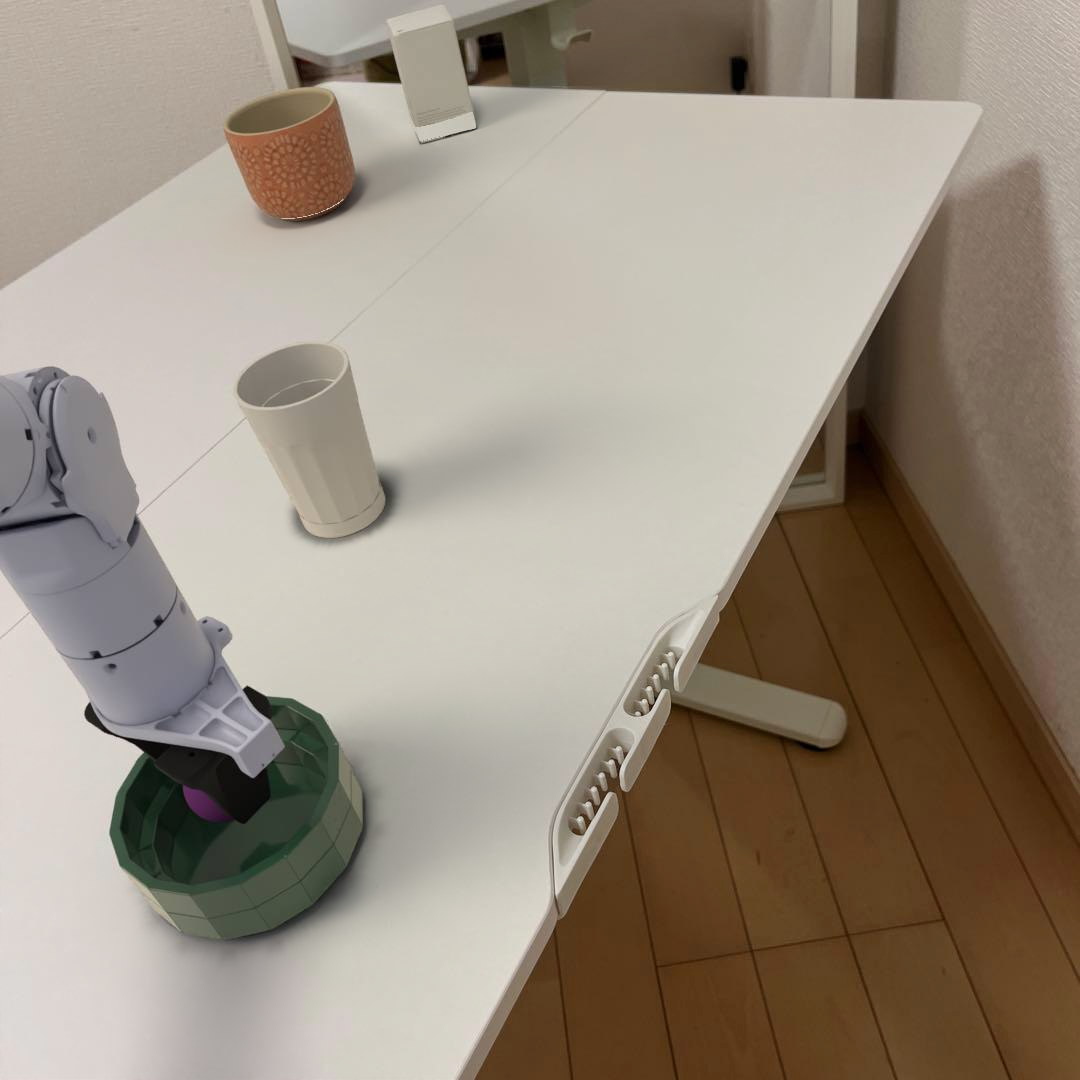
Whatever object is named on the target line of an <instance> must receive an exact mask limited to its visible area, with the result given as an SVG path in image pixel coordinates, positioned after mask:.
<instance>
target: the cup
mask: <svg viewBox="0 0 1080 1080" xmlns="http://www.w3.org/2000/svg"><path fill="white" fill-rule="evenodd" d="M356 387H357V386H356V382H355V378H354V375H353V371H352V366H351V363H350V359H349V355H348V353H347V352H346V350H345V349H344V348H342V347H341V346H339V345H338V344H335V343H332V342H329V341H322V340H309V341H300V342H295V343H290V344H286V345H283V346H280V347H278V348H275V349H272V350H270V351H268V352H266V353H264V354H262V355H261V356H259V357H256V359H254V360H252V361H251V362H250V363H248V364H247V365H246V366H245V367H244V368H243V369H242V371H240V372H239V374H238V375H237V376H236V378H235V380H234V382H233V385H232V395H233V398H234V399H235V401H236V403H237V404H238V407H239V408H240V410H241V412H242V413H243V415H244V417H245V419H246V421H247V422H248V424H249V426H250V428H251V430H252V431H253V433H254V435H255V437H256V438H257V440H258V443H259V444H260V447H262V450H263V451H264V453H265V455H266V457H267V458H268V460H269V462H270V464H271V466H272V467H273V469H274V471H275V473H276V475H277V477H278V479H279V480H280V482H281V484H282V486H283V488H284V489H285V491H286V493H287V495H288V497H289V499H290V501H291V502H292V505H293V506H294V508H295V509H296V511H297V513H298V515H299V519H300V520H301V523H302V525H303V527H304V528H305V530H306V531H307V532H308V533H309V534H311V535H313V536H315V537H319V538H326V539H335V538H342V537H346V536H350V535H353V534H355V533H357V532H360V531H362V530H363V529H365V528H367V527H369V526H370V525H371V524H372V523H374V522H375V521H376V520H377V519H378V517H380V516H381V514H382V512H383V511H384V508H385V506H386V495H385V492H384V489H383V487H382V483H381V481H380V479H379V476H378V472H377V467H376V464H375V463H376V462H375V460H374V456H373V452H372V449H371V448H372V447H371V445H370V441H369V438H368V437H369V436H368V432H367V430H366V425H365V421H364V418H363V414H362V410H361V406H360V402H359V396H358V392H357V388H356Z"/></svg>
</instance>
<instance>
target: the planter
mask: <svg viewBox="0 0 1080 1080" xmlns="http://www.w3.org/2000/svg"><path fill="white" fill-rule="evenodd" d="M222 128H223V134H224V135H225V139H226V141H227V144H228V147H229V149H230V151H231V154H232V156H233V158H234V161H235V164H236V165H237V167H238V170H239V172H240V174H241V177H242V179H243V181H244V184H245V186H246V189H247V191H248V193H249V195H250V197H251V199H252V201H253V202H254V203H255V205H256V206H257V207H258V208H259V209H260V210H261V211H263V212H264V214H267V215H269V216H271V217H273V216H274V217H273V218H276V217H278V218H277V219H279V220H281V221H286V222H287V221H288V222H302V221H308V220H313V219H316V218H319V217H321V216H325V215H326V214H329V213H331V212H332V211H334V210H336V209H337V208H338V207H339V206H340V205H341V204H342V203H344V201H346V199H347V197H348V196H349V194H350V193H351V191H352V189H353V187H354V183H355V179H356V178H355V177H356V169H355V163H354V162H355V161H354V157H353V154H352V150H351V146H350V142H349V138H348V135H347V130H346V126H345V122H344V119H343V115H342V111H341V108H340V104H339V102H338V99H337V97H336V95H335V93H334V92H333V91H332V90H330V89H328V88H325V87H319V86H305V87H304V86H303V87H295V88H289V89H284V90H280V91H276V92H272V93H269V94H265V95H263V96H260V97H258V98H255V99H253V100H251V101H249V102H247V103H245V104H243V105H241V106H239V107H237V108H236V109H234V110H233V111H232V112H231V113H229V115H228V116H227V117H225V119H224V121H223V124H222ZM349 192H350V193H349ZM347 195H348V196H347ZM346 196H347V197H346ZM345 197H346V198H345ZM344 198H345V199H344ZM342 199H344V200H343V201H341V200H342ZM340 201H341V202H340ZM338 202H340V203H339V204H337V203H338ZM335 204H337V205H335ZM333 205H335V206H334V207H332V206H333ZM330 207H332V208H330ZM327 208H330V209H328V210H326V209H327ZM323 210H325V211H323ZM321 211H323V212H321ZM319 212H320V213H319ZM315 213H318V214H315ZM311 214H314V215H311ZM308 215H311V216H308ZM303 216H307V217H303ZM297 217H302V218H297ZM281 218H295V219H281Z"/></svg>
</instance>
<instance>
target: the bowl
mask: <svg viewBox="0 0 1080 1080" xmlns="http://www.w3.org/2000/svg"><path fill="white" fill-rule="evenodd" d="M265 696H266V697H267V698H268V700H269V702H270V704H271V706H272V709H273V715H272V718H271V722H272V724H273V725H274V727H275V729H276V731H277V733H278V734H279V736H280V738H281V740H282V742H283V744H284V745H285V747H284V748H283V749H282V750H281V751H280V752H279V753H278V754H277V755H276V756H275V758H274V759H273V760H272V761H271V762H270V763H269V764H268V765H267V772H268V778H269V784H270V792H271V798H270V799H269V800H268V801H267V802H266V803H265V804H264V805H263V806H262V807H261V808H260V809H259V810H258V811H257V812H256V813H255V814H254V815H253V816H252V817H251V818H250V819H249V820H248V821H247V823H246V824H241V823H239V822H237V821H236V820H234V821H230V822H223V823H218V822H211V821H208V820H205V819H203V818H201V817H199V816H198V815H197V814H196V813H194V812H193V810H192V809H191V808H190V807H189V805H188V803H187V801H186V799H185V796H184V792H183V785H181V784H179V783H178V782H176V781H174V780H173V779H171V778H170V777H169V776H167V775H166V774H164V773H163V772H161V771H160V770H158V769H157V768H156V767H155V766H154V764H153V763H154V761H153V760H152V759H151V758H150V757H149V756H148V755H146V754H145V753H144V752H142V753H141V755H139V757H137V759H136V761H135V762H134V764H133V766H132V767H131V769H130V771H129V772H128V774H127V776H126V777H125V779H124V780H123V782H122V784H121V785H120V787H119V789H118V791H117V792H116V795H115V797H114V804H113V808H112V814H111V819H110V826H109V830H108V835H109V838H110V842H111V845H112V847H113V850H114V853H115V856H116V860H117V862H118V866H119V867H120V869H121V870H122V872H123V873H124V874H125V875H126V877H127V878H128V879H129V880H130V882H132V884H133V885H134V886H135V887H136V889H137V890H138V891H139V893H140V894H141V895H142V896H143V898H145V900H146V901H147V902H148V904H149V905H150V906H151V907H152V909H153V910H154V911H155V912H156V913H157V914H158V915H159V916H161V917H162V918H163V919H164V920H166V921H167V922H168V923H169V924H171V925H172V926H173V927H174V928H175V929H177V931H179V932H181V933H183V934H187V935H191V936H192V935H193V936H198V937H203V938H209V939H215V940H222V941H224V940H225V941H228V940H231V939H232V940H233V939H236V938H241V937H245V936H249V935H250V936H251V935H253V934H258V933H262V932H263V933H264V932H266V931H270V930H274V929H275V928H277V927H279V926H280V925H282V924H283V923H285V922H287V921H289V920H290V919H291V918H293V917H295V916H297V915H298V914H300V913H302V912H303V911H305V910H307V909H308V908H310V907H312V906H313V905H314V904H315V903H317V901H318V900H319V899H320V898H321V896H322V895H323V894H324V893H325V892H326V891H327V890H328V889H329V887H330V886H331V885H332V884H333V883H334V881H336V880H337V878H339V876H340V875H341V873H343V872H344V870H345V869H346V868H347V867H348V864H349V862H350V860H351V857H352V855H353V851H354V850H355V847H356V846H357V843H358V840H359V838H360V835H361V833H362V832H363V831H362V830H363V826H364V822H363V820H364V818H363V817H364V816H363V790H362V787H361V785H360V783H359V781H358V779H357V777H356V775H355V773H354V771H353V769H352V767H351V765H350V763H349V761H348V759H347V757H346V754H345V753H344V751H343V749H342V747H341V745H340V743H339V741H338V739H337V738H336V736H335V734H334V732H333V730H332V729H331V727H330V725H329V724H328V722H327V720H326V719H325V717H324V715H323V714H321V713H319V712H317V711H316V710H314V709H312V708H311V707H309V706H307V705H305V704H303V703H302V702H300V701H299V700H296V699H294V698H291V697H283V696H282V697H281V696H272V695H271V696H270V695H265Z"/></svg>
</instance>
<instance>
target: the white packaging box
mask: <svg viewBox="0 0 1080 1080" xmlns="http://www.w3.org/2000/svg"><path fill="white" fill-rule="evenodd" d="M385 24H386V28H387V32H388V37H389V40H390V45H391V48H392V52H393V55H394V56H393V57H394V61H395V64H396V68H397V71H398V75H399V79H400V84H401V87H402V91H403V95H404V100H405V102H406V103H405V104H406V106H407V110H409V111H408V114H410V115H409V118H410V117H411V119H412V121H413V124H414V125H415V127H421V126H426V125H431V124H435V123H439V122H442V121H445V120H448V119H453V118H455V117H457V116H461V115H463V114H466V113H469V112H473V111H474V106H473V103H472V98H471V94H470V88H469V85H468V80H467V75H466V70H465V66H464V62H463V58H462V53H461V49H460V43H459V39H458V35H457V31H456V26H455V21H454V18H453V16H452V15H451V13H450V12H449V10H448V8H447V7H446V5H445V4H444V3H442V4H439V5H438V4H437V5H434V6H430V7H427V8H426V7H425V8H422V9H419V10H415V11H412V12H409V13H405V14H401V15H398V16H394V17H391V18H387V19H386V20H385ZM411 119H410V120H411ZM453 134H454V133H453ZM440 139H444V138H443V137H441V138H440V136H439V138H437V139H436V137H435V139H432V138H431V140H429V141H428V139H427V141H426V140H425V142H424V140H423V142H422V141H421V143H420V144H424V143H428V142H432V141H437V140H440Z"/></svg>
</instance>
